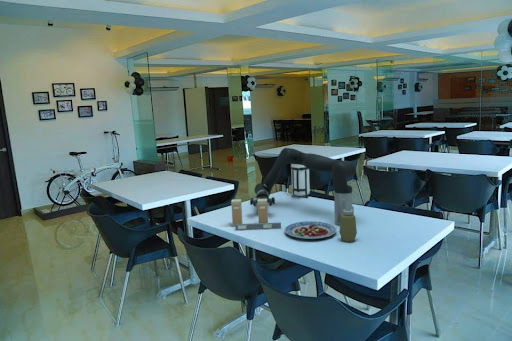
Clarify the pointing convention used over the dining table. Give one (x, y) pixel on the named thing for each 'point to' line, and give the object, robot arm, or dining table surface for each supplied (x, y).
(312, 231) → the ceramic plate
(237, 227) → the rail
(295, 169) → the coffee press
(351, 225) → the squeeze bottle
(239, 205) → the faced carton
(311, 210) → the dining table surface
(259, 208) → the carton
